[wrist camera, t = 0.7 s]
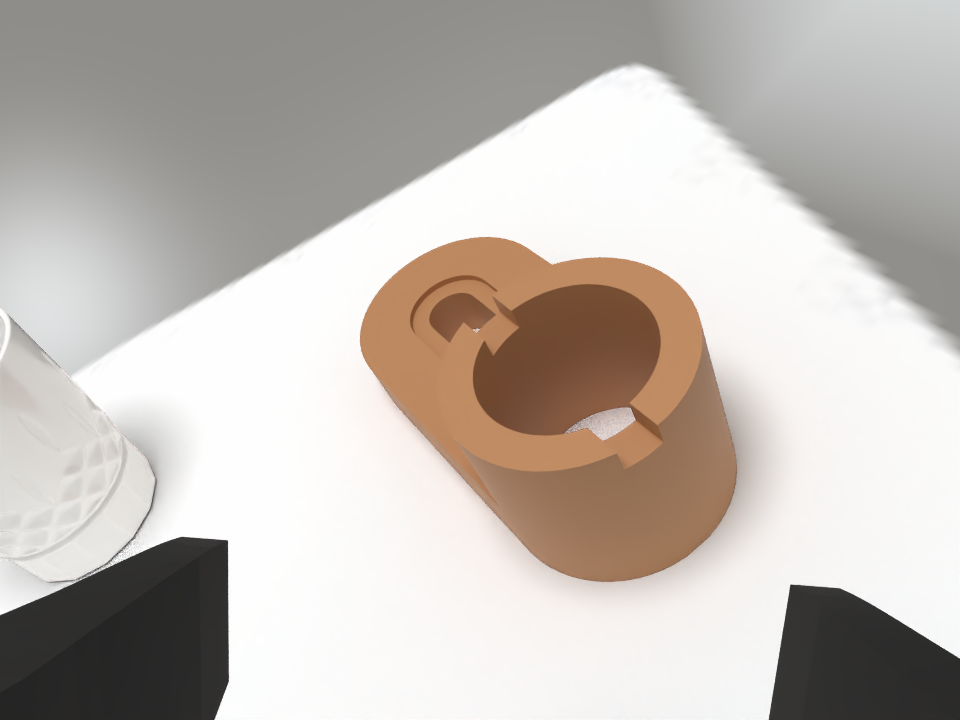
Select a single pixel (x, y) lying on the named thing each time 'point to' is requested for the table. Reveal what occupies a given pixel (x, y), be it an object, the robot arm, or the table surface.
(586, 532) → the bracket
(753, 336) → the table surface
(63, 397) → the white cup
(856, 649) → the robot arm
